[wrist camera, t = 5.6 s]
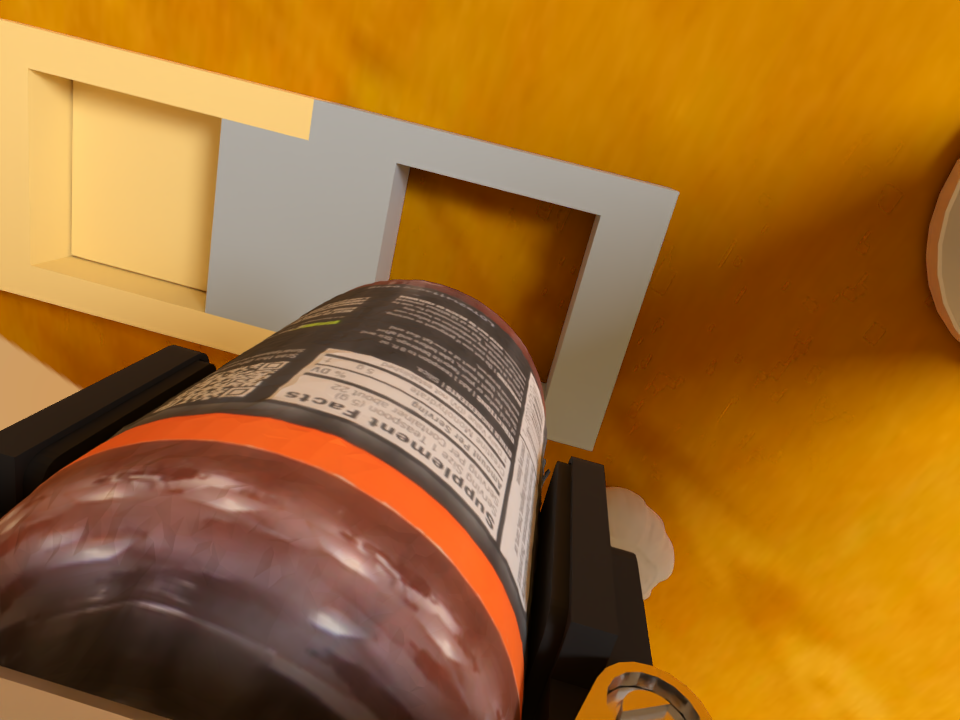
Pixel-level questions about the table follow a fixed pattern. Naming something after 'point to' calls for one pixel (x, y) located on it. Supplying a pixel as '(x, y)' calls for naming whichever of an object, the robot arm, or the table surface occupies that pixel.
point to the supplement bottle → (302, 528)
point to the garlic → (640, 536)
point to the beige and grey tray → (268, 206)
